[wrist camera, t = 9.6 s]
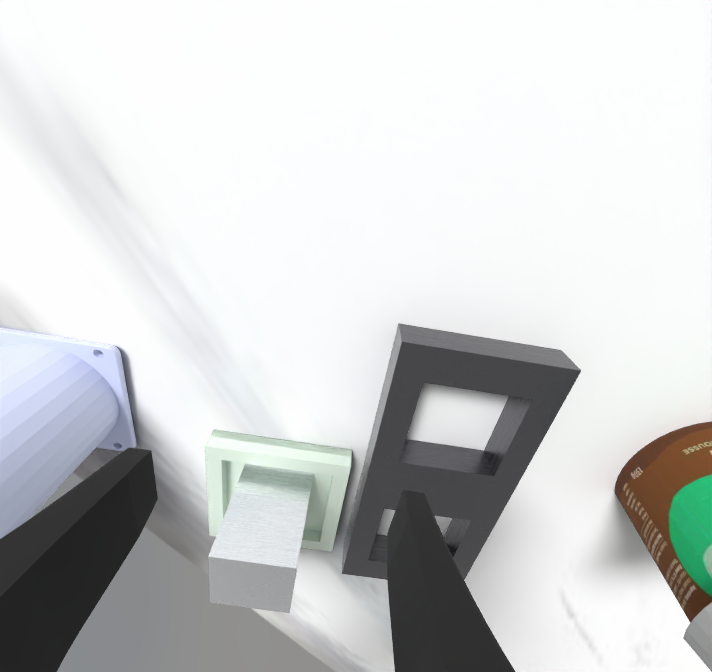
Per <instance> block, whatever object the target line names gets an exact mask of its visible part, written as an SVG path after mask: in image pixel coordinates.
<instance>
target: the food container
mask: <svg viewBox="0 0 712 672" xmlns="http://www.w3.org/2000/svg"><path fill="white" fill-rule="evenodd" d="M615 494H616V496H617V497H618V499H619V501H620V502H621V504H622V506H623V508H624V509H625V511H626V513H627V515H628V516H629V518H630V520H631V521H632V523H633V525H634V527H635V528H636V530H637V532H638V533H639V535H640V537H641V539H642V540H643V542H644V544H645V545H646V547H647V549H648V551H649V552H650V554H651V556H652V557H653V559H654V561H655V563H656V564H657V566H658V568H659V569H660V571H661V573H662V575H663V576H664V578H665V580H666V582H667V583H668V585H669V587H670V588H671V590H672V592H673V594H674V595H675V597H676V599H677V600H678V602H679V604H680V606H681V607H682V609H683V611H684V612H685V614H686V616H687V618H688V619H689V621H690V625H689V626H688V628H687V629H686V632H685V635H684V639H685V641H686V642H687V643H688V644H689V645H690V646H691V648H692V649H693V650H694V651H695V652H696V654H697V655H698V656H699V657H700V658H701V659H702V661H703V662H704V663H705V664H706V665H707V667H708V668H709V669H710V670H711V671H712V422H706V423H699V424H695V425H691V426H687V427H683V428H681V429H678V430H675V431H672V432H670V433H668V434H666V435H664V436H662V437H659V438H658V439H656V440H654V441H653V442H651V443H649V444H648V445H646V446H645V447H644V448H642V449H641V450H640V451H638V452H637V453H636V454H635V455H634V456H633V457H632V458H631V459H630V460H629V461H628V462H627V463H626V465H625V466H624V467H623V469H622V470H621V472H620V474H619V476H618V478H617V481H616V484H615Z"/></svg>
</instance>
